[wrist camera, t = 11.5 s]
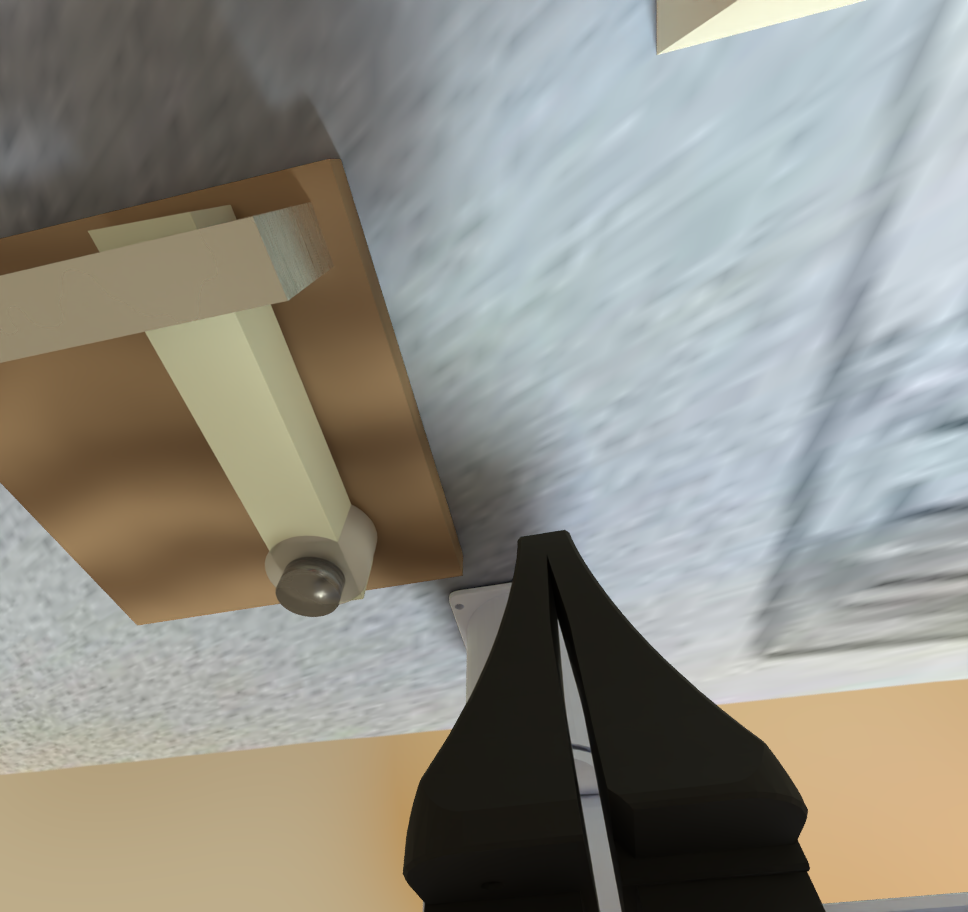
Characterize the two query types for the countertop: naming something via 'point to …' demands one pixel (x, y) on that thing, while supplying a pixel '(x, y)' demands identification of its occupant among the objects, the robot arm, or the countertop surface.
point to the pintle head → (310, 586)
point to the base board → (181, 444)
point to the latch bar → (259, 422)
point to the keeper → (162, 282)
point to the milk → (727, 18)
